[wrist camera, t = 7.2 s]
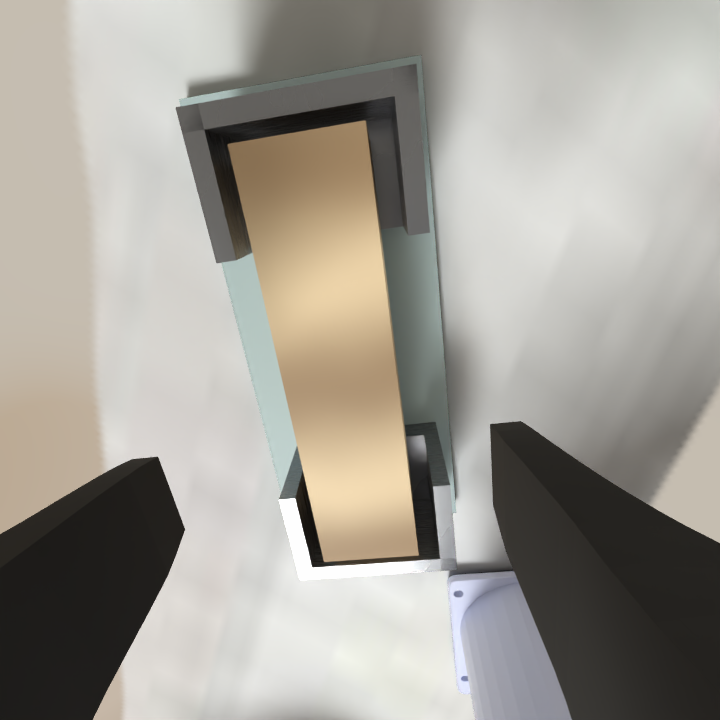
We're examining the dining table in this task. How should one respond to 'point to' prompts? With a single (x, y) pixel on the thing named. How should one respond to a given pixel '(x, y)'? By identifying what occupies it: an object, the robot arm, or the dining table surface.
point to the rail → (332, 331)
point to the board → (407, 304)
